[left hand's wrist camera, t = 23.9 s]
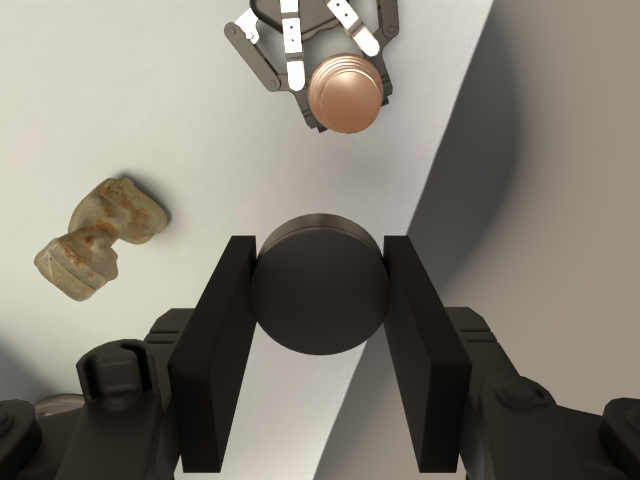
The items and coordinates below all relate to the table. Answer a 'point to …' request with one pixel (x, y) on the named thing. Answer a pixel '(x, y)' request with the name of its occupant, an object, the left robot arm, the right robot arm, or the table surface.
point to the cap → (320, 285)
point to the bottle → (345, 93)
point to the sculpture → (99, 237)
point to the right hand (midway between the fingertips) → (353, 116)
